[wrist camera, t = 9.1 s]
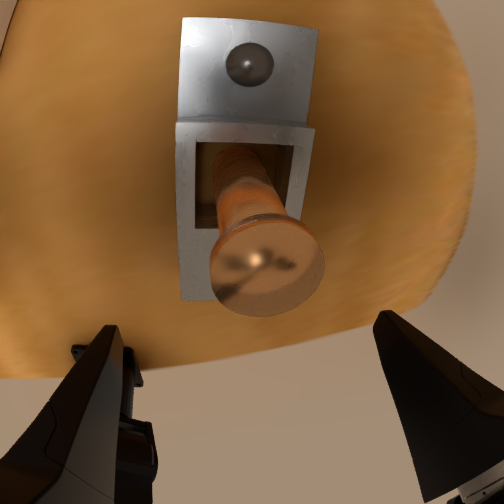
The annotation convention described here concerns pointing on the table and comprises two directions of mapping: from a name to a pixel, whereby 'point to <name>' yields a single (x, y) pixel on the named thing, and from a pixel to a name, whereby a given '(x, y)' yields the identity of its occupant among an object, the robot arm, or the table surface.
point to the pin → (258, 242)
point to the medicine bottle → (5, 17)
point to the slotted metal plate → (239, 120)
